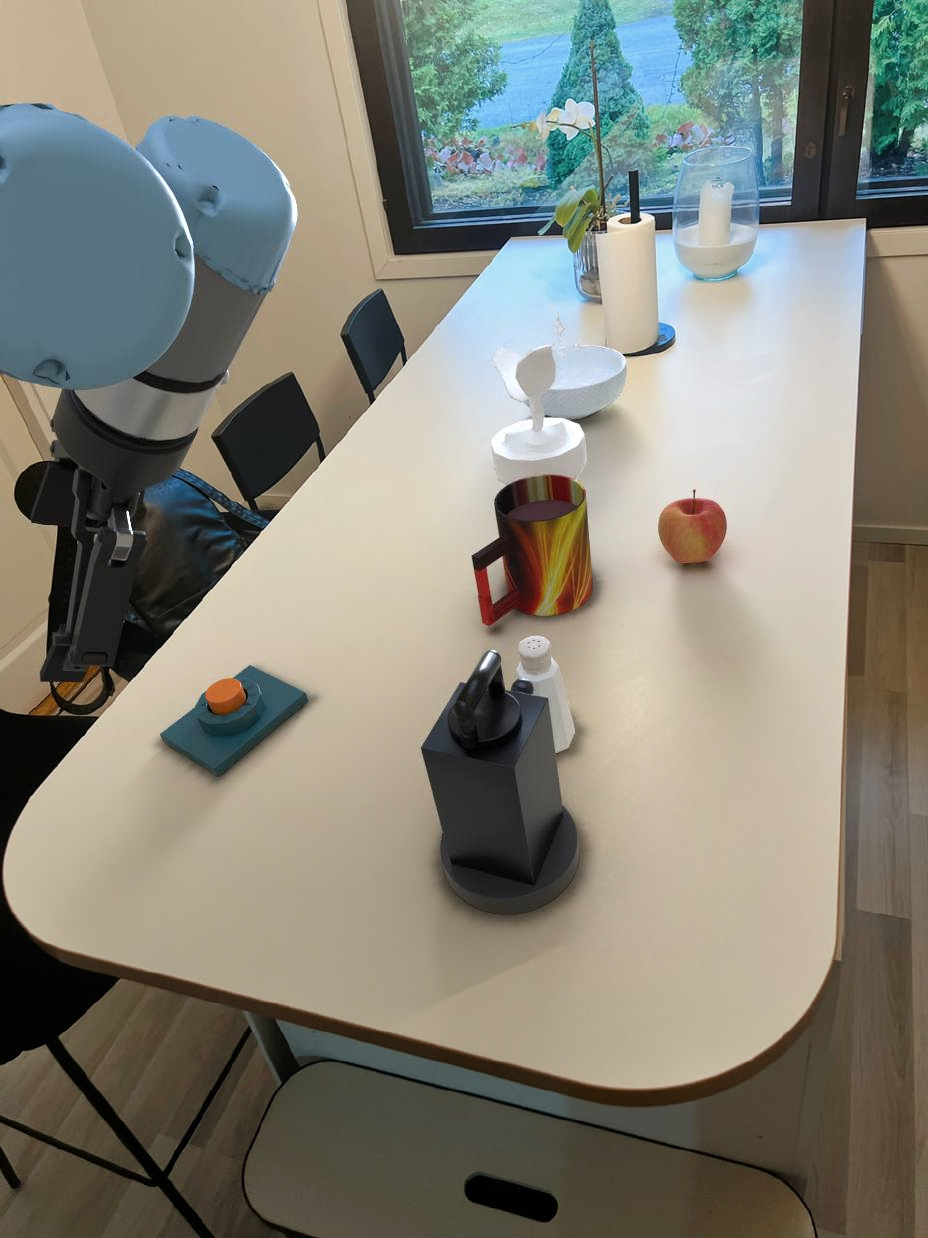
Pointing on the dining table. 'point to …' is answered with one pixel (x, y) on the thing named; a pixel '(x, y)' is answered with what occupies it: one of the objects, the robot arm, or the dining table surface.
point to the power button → (225, 696)
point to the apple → (692, 529)
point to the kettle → (495, 774)
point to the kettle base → (513, 894)
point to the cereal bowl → (584, 381)
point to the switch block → (234, 722)
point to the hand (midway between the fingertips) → (55, 595)
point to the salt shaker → (547, 686)
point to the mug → (538, 549)
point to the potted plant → (535, 420)
